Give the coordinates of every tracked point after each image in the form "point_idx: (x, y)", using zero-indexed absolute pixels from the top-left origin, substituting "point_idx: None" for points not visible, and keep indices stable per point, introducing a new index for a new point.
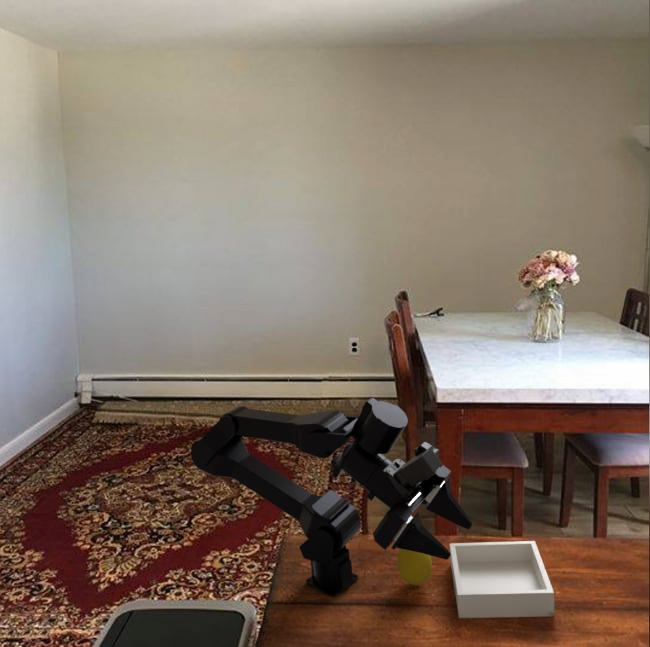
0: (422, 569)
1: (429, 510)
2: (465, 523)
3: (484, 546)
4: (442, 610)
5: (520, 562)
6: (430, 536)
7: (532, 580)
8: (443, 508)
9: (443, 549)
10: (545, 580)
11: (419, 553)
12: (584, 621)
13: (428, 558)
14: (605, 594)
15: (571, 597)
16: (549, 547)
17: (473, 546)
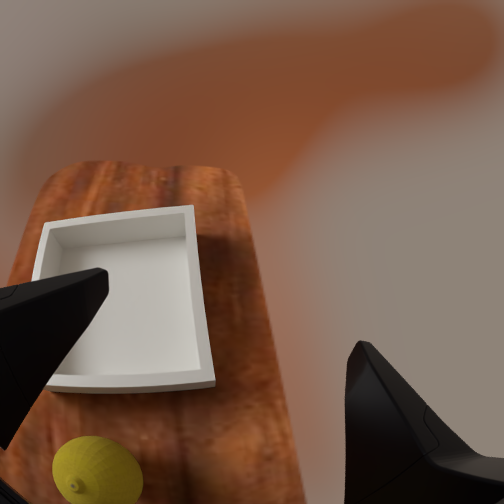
0: (129, 462)
1: (12, 437)
2: (94, 293)
3: None
4: (194, 418)
5: (63, 265)
6: (419, 412)
7: (112, 251)
8: (18, 371)
9: (386, 360)
10: (157, 213)
11: (104, 471)
12: (203, 201)
13: (100, 446)
14: (146, 176)
15: None
16: (34, 227)
17: None
